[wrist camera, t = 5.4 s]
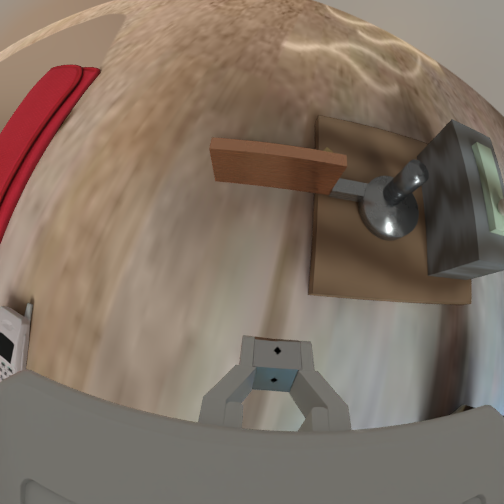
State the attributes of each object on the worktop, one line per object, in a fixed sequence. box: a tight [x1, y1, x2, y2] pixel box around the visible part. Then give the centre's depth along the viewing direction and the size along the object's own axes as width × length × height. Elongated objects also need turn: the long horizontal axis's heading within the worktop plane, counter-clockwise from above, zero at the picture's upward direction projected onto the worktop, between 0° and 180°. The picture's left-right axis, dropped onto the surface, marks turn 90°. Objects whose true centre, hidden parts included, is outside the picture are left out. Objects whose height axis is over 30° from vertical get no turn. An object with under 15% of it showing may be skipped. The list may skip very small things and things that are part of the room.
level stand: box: [308, 115, 504, 305], centre depth 25 cm, size 22×22×14 cm
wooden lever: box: [209, 138, 429, 241], centre depth 26 cm, size 7×22×8 cm, turn 84°
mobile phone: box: [0, 303, 33, 382], centre depth 23 cm, size 6×6×25 cm
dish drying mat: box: [0, 65, 100, 243], centre depth 31 cm, size 16×41×4 cm, turn 160°
